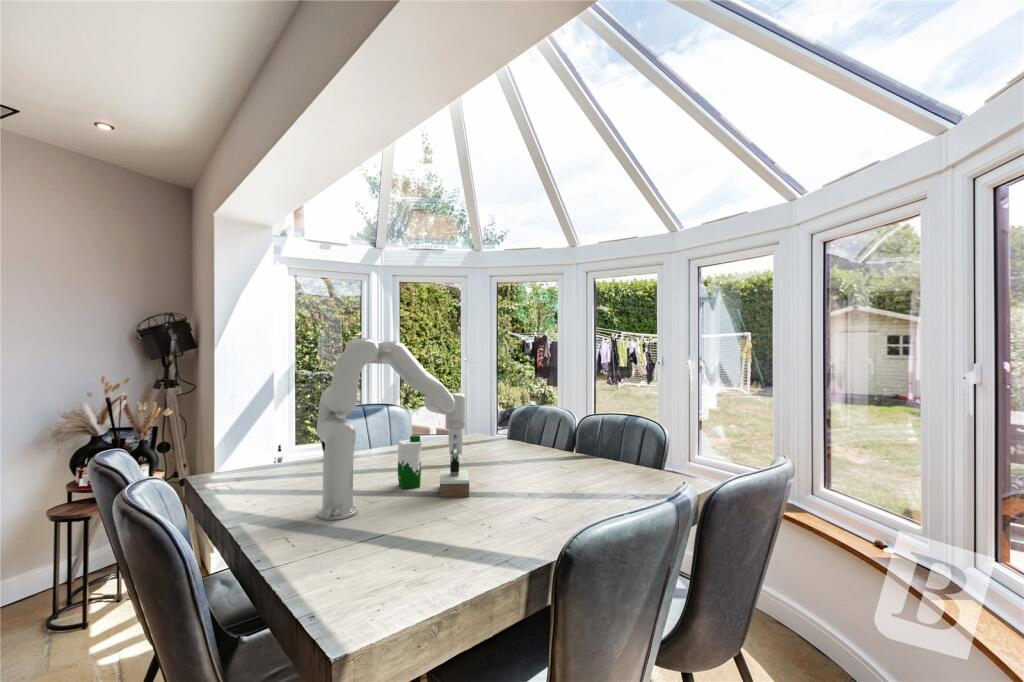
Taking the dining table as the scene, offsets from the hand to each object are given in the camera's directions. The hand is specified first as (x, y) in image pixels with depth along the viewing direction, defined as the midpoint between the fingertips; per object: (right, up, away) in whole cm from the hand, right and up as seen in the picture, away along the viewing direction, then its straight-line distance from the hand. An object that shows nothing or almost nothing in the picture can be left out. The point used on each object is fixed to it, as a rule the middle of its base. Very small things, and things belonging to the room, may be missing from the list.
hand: (454, 468), depth 184 cm
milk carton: (-19, -9, +6) cm, 22 cm away
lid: (0, -4, 0) cm, 4 cm away
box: (0, -9, 0) cm, 9 cm away
